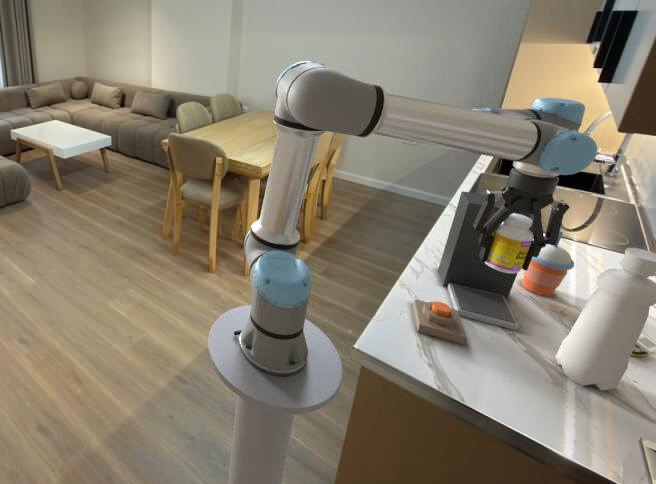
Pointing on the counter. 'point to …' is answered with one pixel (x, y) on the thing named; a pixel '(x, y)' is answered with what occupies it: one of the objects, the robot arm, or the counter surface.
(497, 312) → the coffee maker
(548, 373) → the counter surface
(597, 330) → the bottle
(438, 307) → the button
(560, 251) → the cup with straw
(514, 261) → the supplement bottle
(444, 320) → the control block
